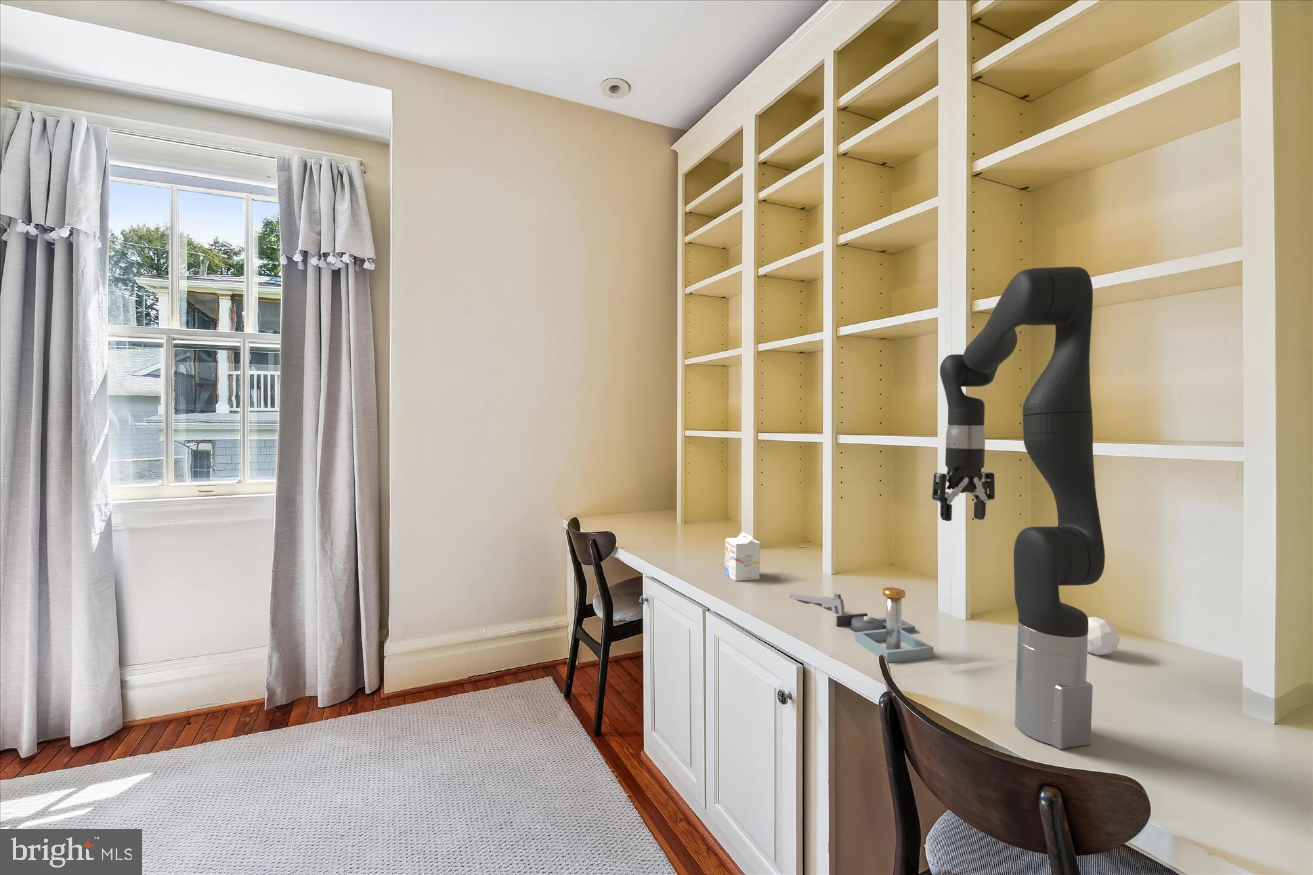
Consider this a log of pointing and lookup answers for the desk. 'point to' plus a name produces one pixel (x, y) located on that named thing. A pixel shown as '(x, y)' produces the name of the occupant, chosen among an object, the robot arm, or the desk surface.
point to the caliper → (823, 601)
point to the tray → (916, 652)
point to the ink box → (742, 558)
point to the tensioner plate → (869, 623)
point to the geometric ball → (1101, 637)
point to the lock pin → (893, 617)
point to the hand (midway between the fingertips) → (962, 519)
